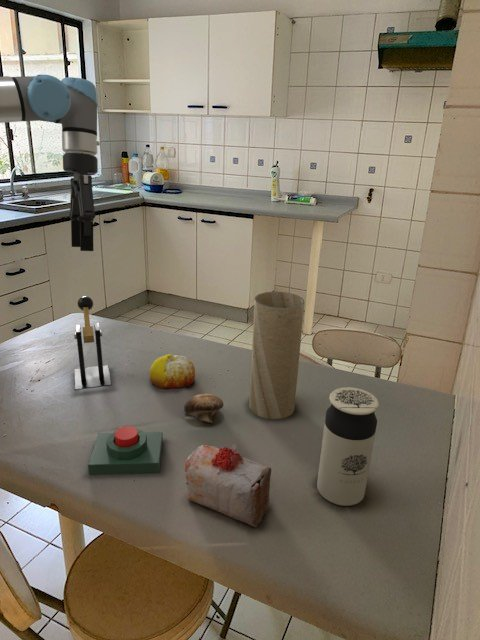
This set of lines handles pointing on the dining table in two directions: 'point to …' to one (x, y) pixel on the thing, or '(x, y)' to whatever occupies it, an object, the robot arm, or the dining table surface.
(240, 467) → the food item
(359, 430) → the travel mug
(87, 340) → the lever
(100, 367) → the bracket
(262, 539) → the dining table surface
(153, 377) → the fruit
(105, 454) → the button box
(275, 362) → the tube
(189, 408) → the mushroom
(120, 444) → the button
